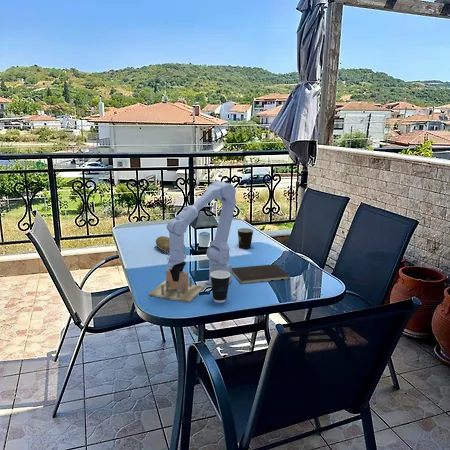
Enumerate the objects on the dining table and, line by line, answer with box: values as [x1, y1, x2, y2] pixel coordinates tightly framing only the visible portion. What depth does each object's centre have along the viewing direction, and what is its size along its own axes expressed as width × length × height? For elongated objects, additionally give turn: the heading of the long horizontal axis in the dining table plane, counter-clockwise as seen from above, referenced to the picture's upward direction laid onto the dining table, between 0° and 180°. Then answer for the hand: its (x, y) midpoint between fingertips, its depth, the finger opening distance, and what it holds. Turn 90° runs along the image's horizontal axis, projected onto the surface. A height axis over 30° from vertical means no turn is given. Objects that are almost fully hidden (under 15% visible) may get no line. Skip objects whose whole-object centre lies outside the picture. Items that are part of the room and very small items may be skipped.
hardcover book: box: [232, 263, 290, 284], centre depth 189 cm, size 16×23×2 cm
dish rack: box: [148, 276, 205, 304], centre depth 168 cm, size 18×15×5 cm
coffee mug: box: [237, 227, 254, 250], centre depth 229 cm, size 12×9×10 cm
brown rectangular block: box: [165, 269, 189, 290], centre depth 168 cm, size 9×2×7 cm, turn 71°
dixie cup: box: [210, 271, 230, 304], centre depth 161 cm, size 8×8×11 cm
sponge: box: [155, 235, 186, 253], centre depth 221 cm, size 13×8×20 cm
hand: (176, 280), depth 168 cm, fingers closed on brown rectangular block, 2 cm apart
